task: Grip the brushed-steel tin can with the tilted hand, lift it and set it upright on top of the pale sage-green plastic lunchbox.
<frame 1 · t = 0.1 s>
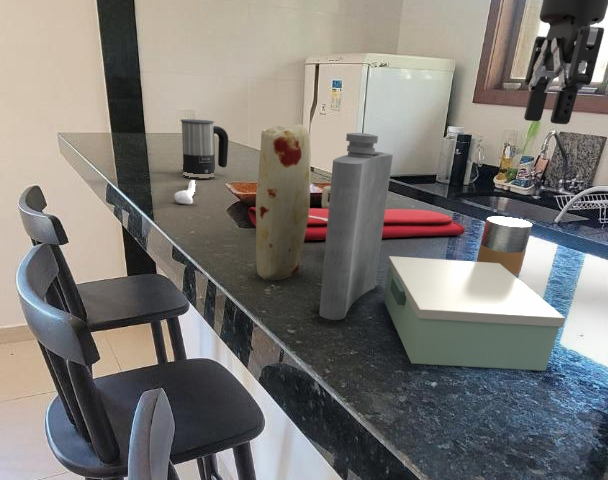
hand: (544, 122, 71), 22 cm above the counter, tool pointing down, fingers open, 8 cm apart
character mug: (346, 258, 87), on the counter
dish drying mat: (357, 231, 105), on the counter
lunchbox: (454, 331, 62), on the counter
food model: (278, 276, 76), on the counter
milk frother: (196, 175, 154), on the counter
tin can: (492, 291, 77), on the counter
hip flask: (345, 300, 69), on the counter
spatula: (186, 194, 127), on the counter
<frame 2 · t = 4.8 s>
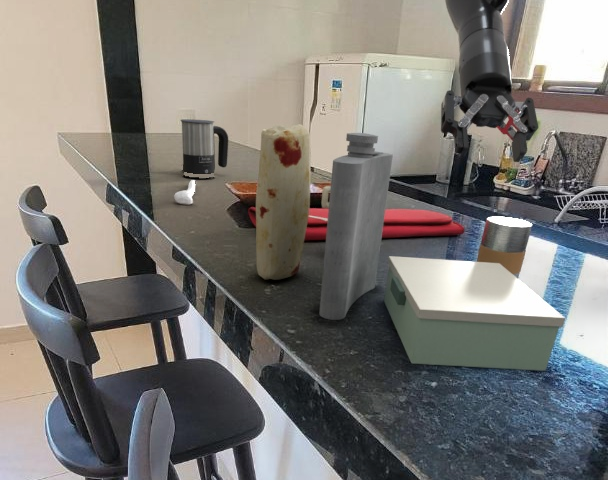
hand: (491, 156, 79), 17 cm above the counter, tool tilted 45°, fingers open, 8 cm apart
nothing on the counter moved.
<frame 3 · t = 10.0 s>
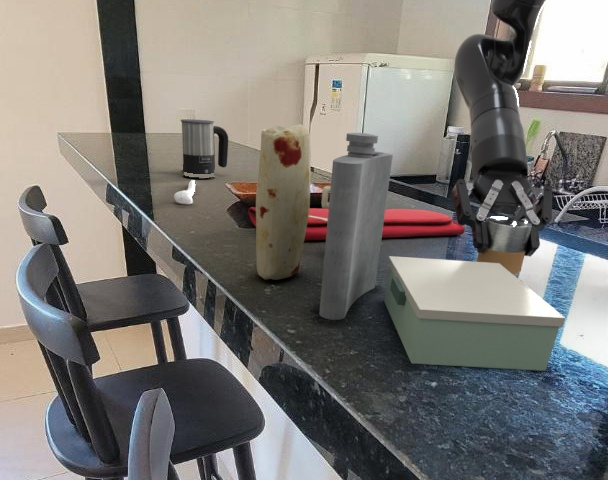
hand: (507, 251, 72), 6 cm above the counter, tool tilted 45°, fingers closed on tin can, 6 cm apart
tin can: (492, 291, 77), on the counter, touching gripper
everything else where it was.
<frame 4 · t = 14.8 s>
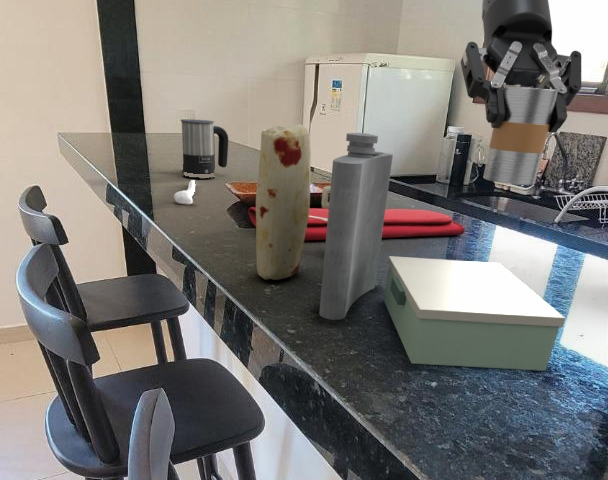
hand: (527, 124, 60), 22 cm above the counter, tool tilted 45°, fingers closed on tin can, 6 cm apart
tin can: (508, 180, 64), point 16 cm above the counter, touching gripper
everything else where it was.
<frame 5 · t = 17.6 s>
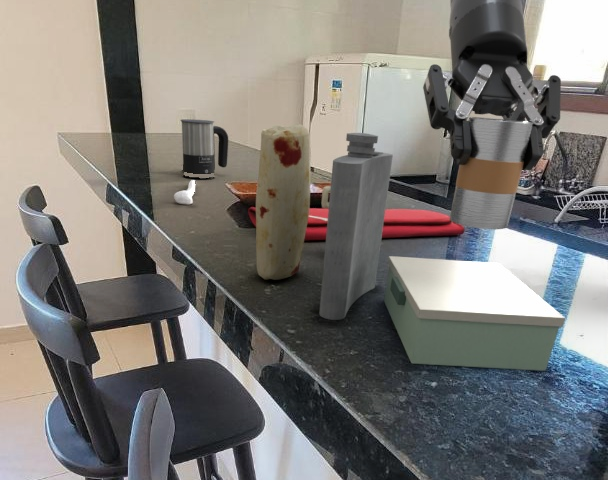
hand: (498, 161, 52), 19 cm above the counter, tool tilted 45°, fingers closed on tin can, 6 cm apart
tin can: (478, 222, 56), point 13 cm above the counter, touching gripper
everything else where it was.
when the fingers open (12 cm above the counter, at t = 20.0 s): tin can stays where it is, resting on lunchbox.
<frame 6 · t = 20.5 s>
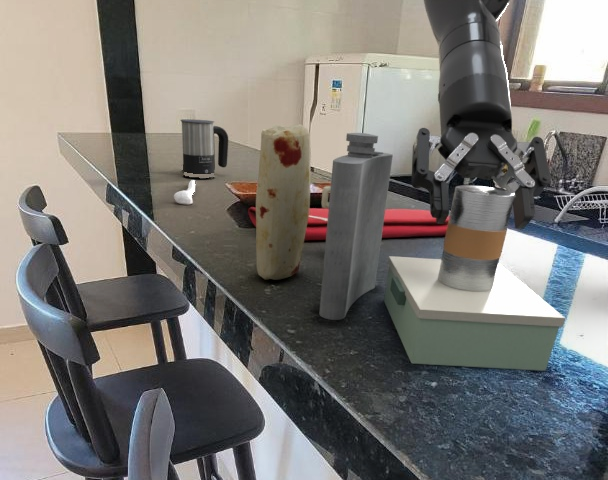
hand: (483, 222, 55), 13 cm above the counter, tool tilted 45°, fingers open, 8 cm apart
tin can: (464, 282, 59), point 6 cm above the counter, touching lunchbox
everything else where it was.
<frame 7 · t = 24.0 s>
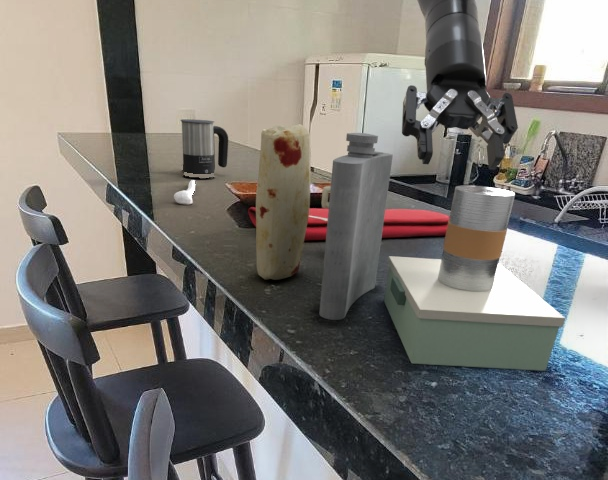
hand: (461, 162, 66), 17 cm above the counter, tool tilted 45°, fingers open, 8 cm apart
nothing on the counter moved.
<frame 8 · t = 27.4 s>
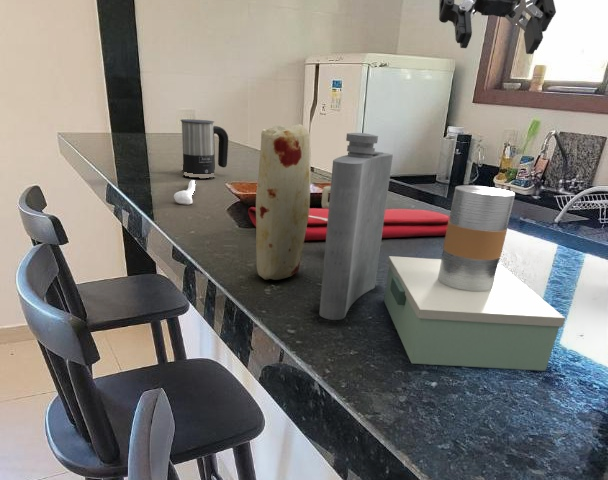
hand: (500, 45, 66), 31 cm above the counter, tool tilted 45°, fingers open, 8 cm apart
nothing on the counter moved.
at the end: tin can inside the target area on the lunchbox (0.1 cm from its centre), point 6.0 cm above the lunchbox's base; tin can tilted 0°; the gripper is holding nothing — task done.
